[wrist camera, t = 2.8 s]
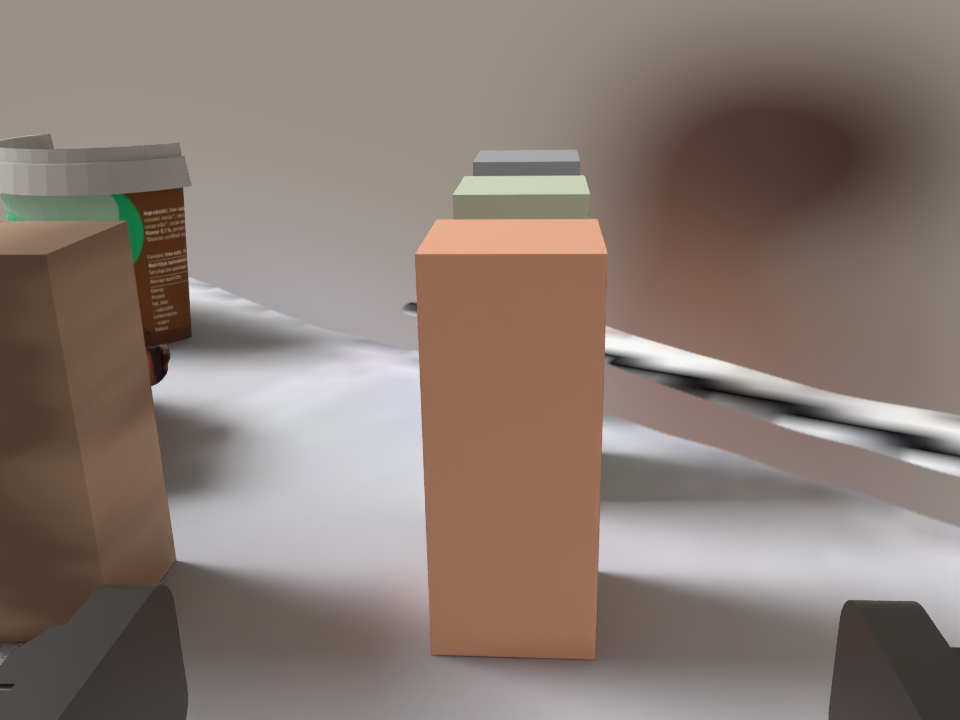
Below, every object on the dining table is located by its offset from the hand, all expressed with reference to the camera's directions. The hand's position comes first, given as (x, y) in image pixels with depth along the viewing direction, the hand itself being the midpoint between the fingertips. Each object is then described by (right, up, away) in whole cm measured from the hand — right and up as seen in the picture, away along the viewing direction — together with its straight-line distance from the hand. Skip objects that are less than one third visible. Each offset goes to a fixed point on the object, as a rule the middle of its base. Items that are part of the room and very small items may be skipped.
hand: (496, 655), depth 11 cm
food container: (-21, +5, +37) cm, 43 cm away
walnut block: (-11, -3, +14) cm, 18 cm away
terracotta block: (+1, -3, +13) cm, 13 cm away
